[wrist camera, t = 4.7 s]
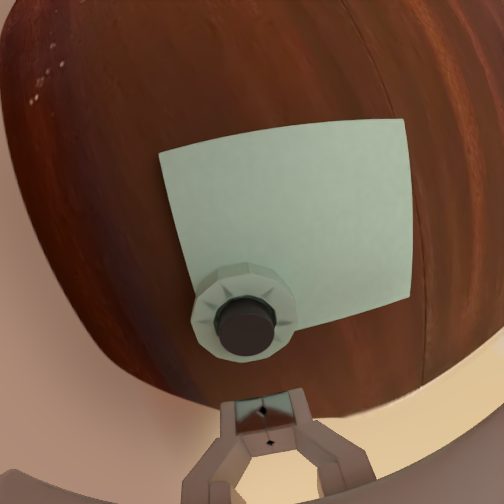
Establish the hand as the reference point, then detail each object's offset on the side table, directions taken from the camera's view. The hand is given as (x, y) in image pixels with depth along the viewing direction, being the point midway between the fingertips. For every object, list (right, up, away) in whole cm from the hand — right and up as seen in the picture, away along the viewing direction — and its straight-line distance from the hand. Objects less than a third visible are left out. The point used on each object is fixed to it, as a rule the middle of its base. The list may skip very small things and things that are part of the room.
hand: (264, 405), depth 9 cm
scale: (+3, +7, +7) cm, 10 cm away
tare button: (-1, +2, +6) cm, 6 cm away
